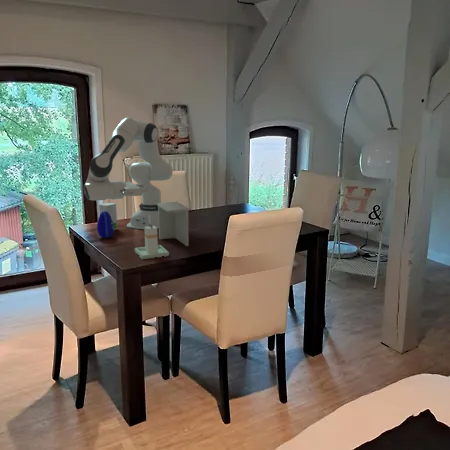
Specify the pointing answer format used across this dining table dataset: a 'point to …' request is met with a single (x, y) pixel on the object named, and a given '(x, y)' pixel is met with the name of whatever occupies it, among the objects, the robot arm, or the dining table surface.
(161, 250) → the tray
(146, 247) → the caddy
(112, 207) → the skincare box
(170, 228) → the bay
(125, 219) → the dining table surface
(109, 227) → the ornament
